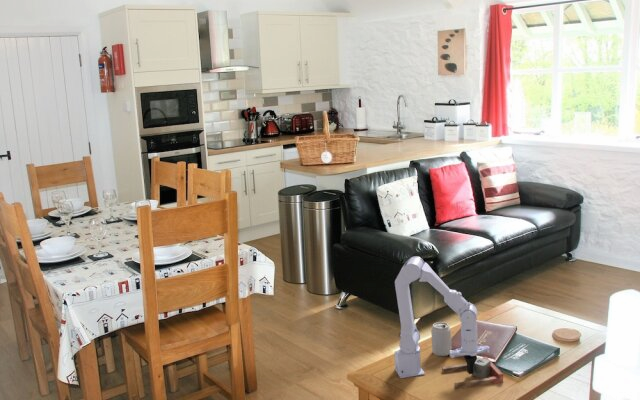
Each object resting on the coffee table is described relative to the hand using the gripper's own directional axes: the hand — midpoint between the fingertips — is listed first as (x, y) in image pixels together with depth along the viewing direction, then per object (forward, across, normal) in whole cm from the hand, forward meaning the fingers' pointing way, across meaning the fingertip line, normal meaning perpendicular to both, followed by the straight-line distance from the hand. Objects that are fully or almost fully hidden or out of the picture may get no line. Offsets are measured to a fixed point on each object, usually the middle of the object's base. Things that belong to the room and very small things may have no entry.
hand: (470, 372), depth 223 cm
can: (+2, -3, +21) cm, 21 cm away
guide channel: (+1, 0, 0) cm, 1 cm away
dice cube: (+2, +4, 0) cm, 5 cm away
